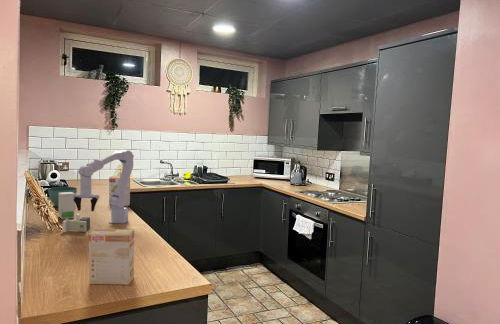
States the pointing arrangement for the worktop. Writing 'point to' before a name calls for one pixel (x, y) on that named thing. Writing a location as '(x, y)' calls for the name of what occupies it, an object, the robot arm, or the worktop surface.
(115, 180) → the cracker box
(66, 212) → the skincare box
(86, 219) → the grey block
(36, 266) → the worktop surface
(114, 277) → the coffeecake box
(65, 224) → the wall frame
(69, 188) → the plant pot
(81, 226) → the door
